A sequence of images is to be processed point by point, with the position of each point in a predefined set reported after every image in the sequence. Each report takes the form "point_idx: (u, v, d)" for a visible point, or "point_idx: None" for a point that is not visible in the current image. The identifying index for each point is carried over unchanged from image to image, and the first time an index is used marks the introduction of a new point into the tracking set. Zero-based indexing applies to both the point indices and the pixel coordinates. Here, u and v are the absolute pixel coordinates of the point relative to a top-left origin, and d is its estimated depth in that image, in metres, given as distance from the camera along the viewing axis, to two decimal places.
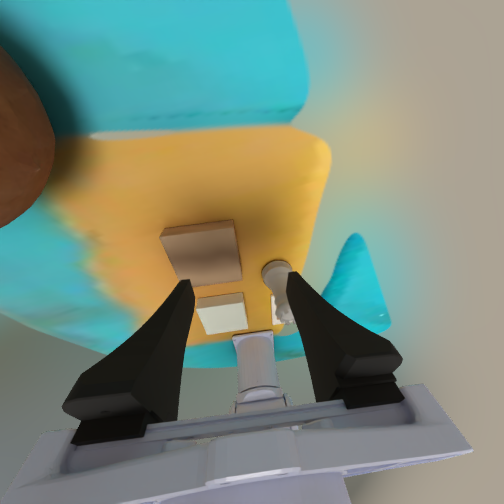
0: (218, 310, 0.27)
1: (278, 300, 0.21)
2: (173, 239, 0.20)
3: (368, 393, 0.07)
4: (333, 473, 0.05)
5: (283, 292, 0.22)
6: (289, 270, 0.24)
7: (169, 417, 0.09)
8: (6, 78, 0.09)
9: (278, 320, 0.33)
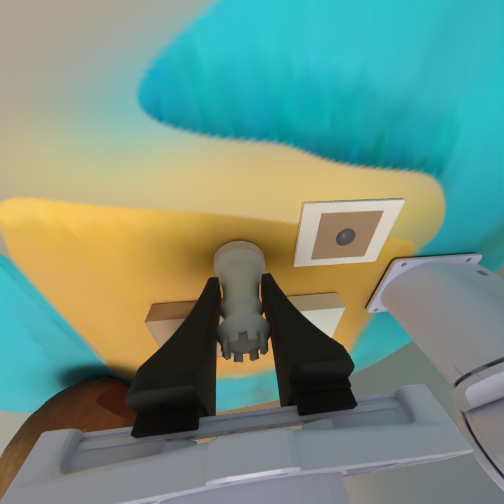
0: None
1: None
2: None
3: (321, 399, 0.07)
4: (333, 474, 0.05)
5: None
6: (221, 259, 0.14)
7: (211, 412, 0.09)
8: (45, 419, 0.19)
9: (368, 252, 0.16)
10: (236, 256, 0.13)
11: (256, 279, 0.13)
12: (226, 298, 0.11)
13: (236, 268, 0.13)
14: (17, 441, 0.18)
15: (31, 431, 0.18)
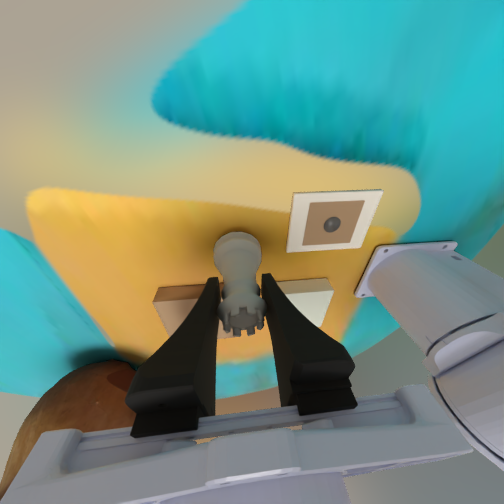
0: None
1: None
2: None
3: (321, 399, 0.07)
4: (333, 473, 0.05)
5: None
6: (222, 247, 0.15)
7: (210, 412, 0.09)
8: (60, 393, 0.20)
9: (353, 239, 0.18)
10: (236, 245, 0.14)
11: (254, 266, 0.14)
12: (226, 281, 0.13)
13: (236, 255, 0.14)
14: (36, 412, 0.19)
15: (49, 403, 0.20)
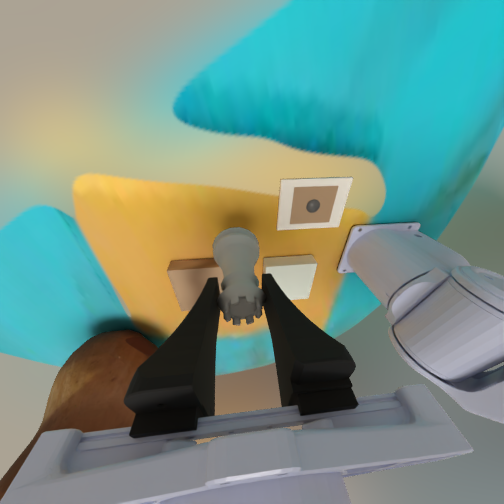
0: None
1: None
2: (182, 305, 0.26)
3: (322, 399, 0.07)
4: (333, 474, 0.05)
5: None
6: (221, 242, 0.15)
7: (209, 412, 0.09)
8: (89, 349, 0.24)
9: (331, 219, 0.22)
10: (234, 239, 0.15)
11: (252, 260, 0.15)
12: (226, 273, 0.13)
13: (235, 249, 0.15)
14: (70, 363, 0.24)
15: (80, 356, 0.24)
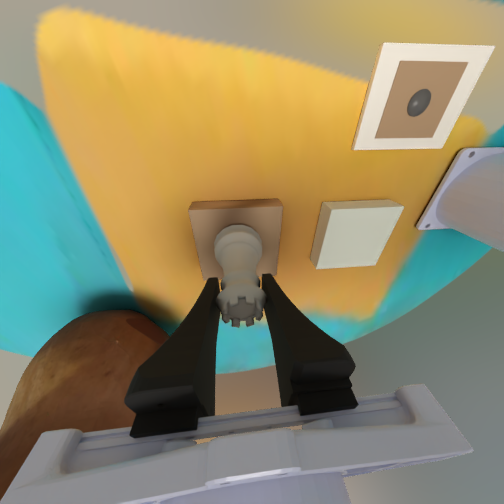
0: (332, 245, 0.18)
1: None
2: (206, 270, 0.19)
3: (322, 399, 0.07)
4: (333, 473, 0.05)
5: None
6: (222, 239, 0.15)
7: (210, 412, 0.09)
8: (73, 330, 0.17)
9: (437, 133, 0.15)
10: (236, 237, 0.15)
11: (254, 259, 0.14)
12: (226, 272, 0.13)
13: (236, 248, 0.14)
14: (45, 349, 0.16)
15: (60, 340, 0.16)
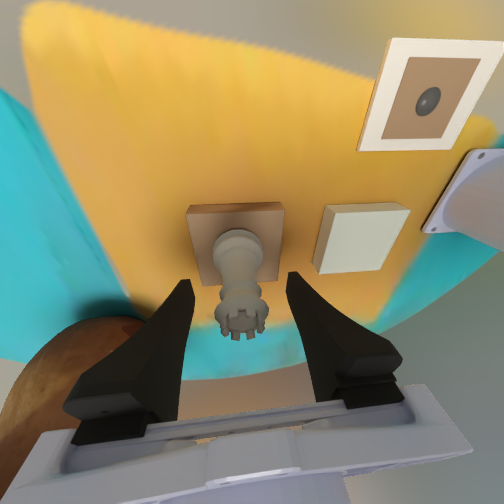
0: (335, 250, 0.18)
1: None
2: (205, 276, 0.18)
3: (368, 393, 0.07)
4: (333, 474, 0.05)
5: None
6: (221, 245, 0.14)
7: (169, 417, 0.09)
8: (66, 340, 0.16)
9: (446, 133, 0.14)
10: (236, 243, 0.14)
11: (255, 266, 0.13)
12: (225, 281, 0.12)
13: (236, 254, 0.13)
14: (36, 360, 0.15)
15: (51, 350, 0.16)
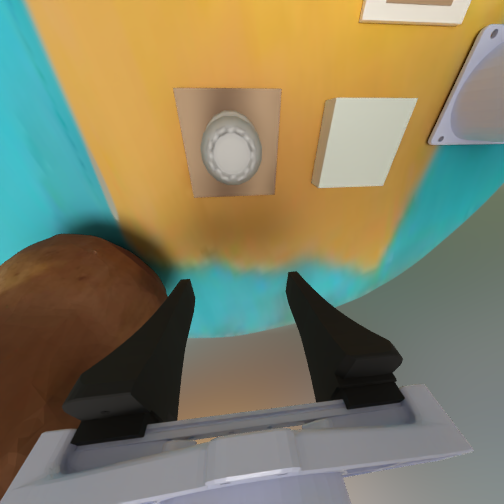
0: (336, 153, 0.17)
1: None
2: (196, 182, 0.17)
3: (368, 393, 0.07)
4: (333, 474, 0.05)
5: None
6: (212, 120, 0.13)
7: (169, 417, 0.09)
8: (46, 241, 0.15)
9: None
10: (228, 115, 0.13)
11: None
12: None
13: None
14: None
15: (30, 247, 0.14)
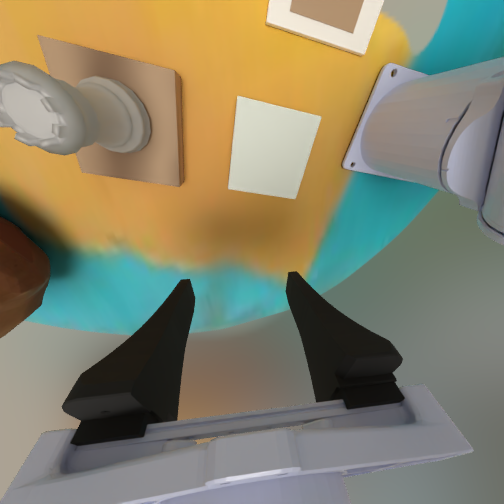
0: (243, 155, 0.16)
1: None
2: (83, 155, 0.15)
3: (368, 393, 0.07)
4: (334, 474, 0.05)
5: None
6: (79, 82, 0.11)
7: (169, 417, 0.09)
8: None
9: (358, 28, 0.13)
10: (97, 81, 0.11)
11: (112, 108, 0.11)
12: None
13: (88, 86, 0.10)
14: None
15: None
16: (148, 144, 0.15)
